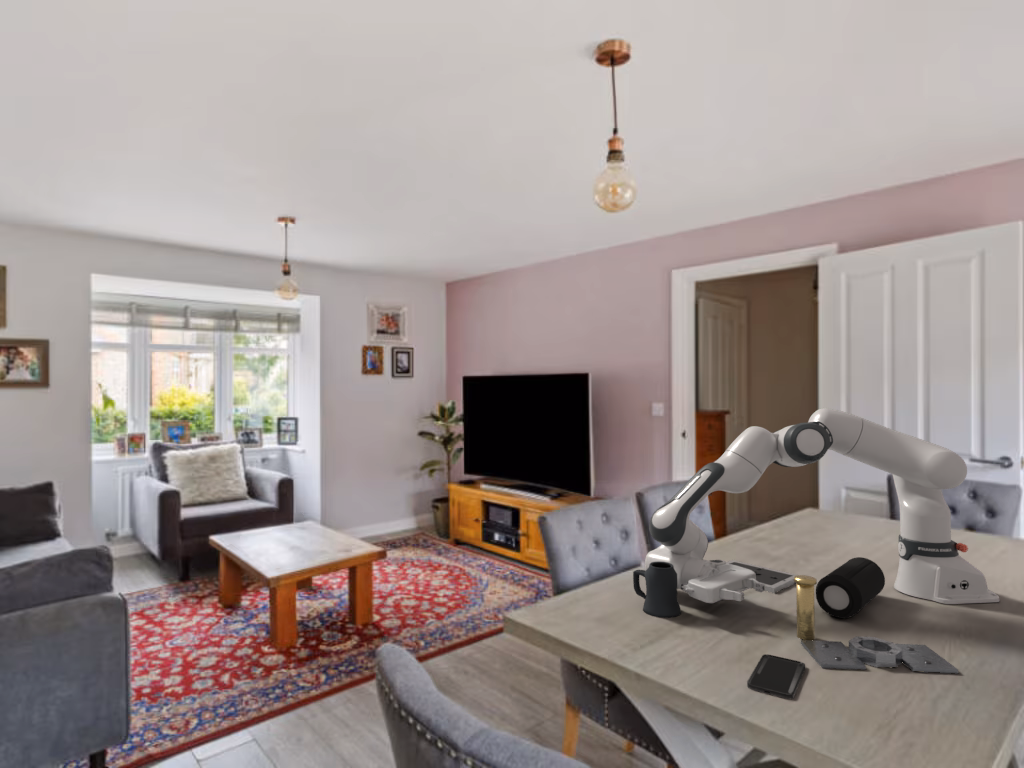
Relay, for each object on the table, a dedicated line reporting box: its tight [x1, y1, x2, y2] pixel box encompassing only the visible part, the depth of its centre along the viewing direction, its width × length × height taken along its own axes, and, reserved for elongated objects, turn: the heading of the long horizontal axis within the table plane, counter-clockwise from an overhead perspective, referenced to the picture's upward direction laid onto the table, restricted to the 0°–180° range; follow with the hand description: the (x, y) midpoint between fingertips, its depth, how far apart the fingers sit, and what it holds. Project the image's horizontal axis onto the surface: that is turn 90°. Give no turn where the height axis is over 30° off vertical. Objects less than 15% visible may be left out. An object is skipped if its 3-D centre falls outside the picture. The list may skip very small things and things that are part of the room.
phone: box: [746, 653, 806, 700], centre depth 112 cm, size 8×1×15 cm
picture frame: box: [726, 559, 798, 594], centre depth 171 cm, size 16×3×21 cm
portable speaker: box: [815, 556, 886, 619], centre depth 149 cm, size 26×10×10 cm, turn 135°
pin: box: [794, 574, 818, 641], centre depth 130 cm, size 4×4×13 cm
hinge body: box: [800, 636, 959, 675], centre depth 120 cm, size 24×11×2 cm, turn 84°
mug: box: [632, 561, 682, 619], centre depth 147 cm, size 12×9×11 cm
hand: (753, 592), depth 139 cm, fingers open, 8 cm apart
